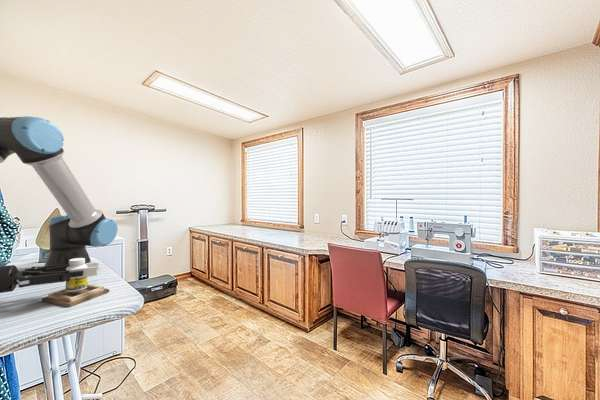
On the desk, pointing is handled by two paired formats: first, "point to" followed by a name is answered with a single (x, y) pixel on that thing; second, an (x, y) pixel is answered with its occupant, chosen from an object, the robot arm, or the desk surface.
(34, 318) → the desk surface
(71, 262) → the supplement bottle
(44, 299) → the walnut board
